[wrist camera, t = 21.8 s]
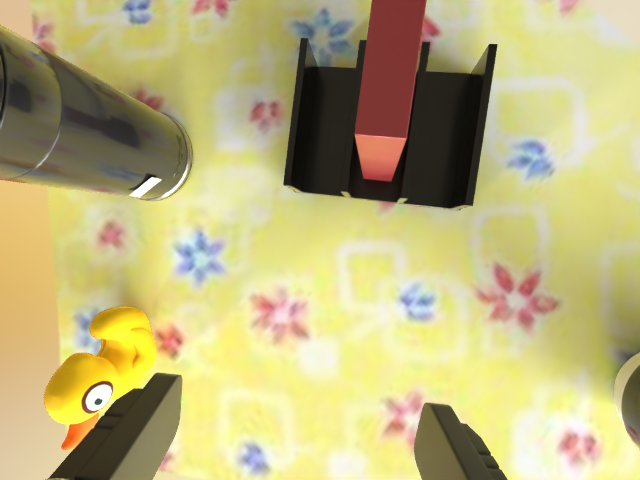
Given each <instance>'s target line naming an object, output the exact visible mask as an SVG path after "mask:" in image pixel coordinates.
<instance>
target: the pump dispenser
mask: <svg viewBox="0 0 640 480" xmlns="http://www.w3.org/2000/svg"><path fill="white" fill-rule="evenodd" d="M614 401H615V406H616V409H617V412H618V414H619V417H620V419H621V421H622V422H623V424H624V426H625V428H626V430H627V433H628V435H629V436H630V438H631V440H632V441H633V443H634V444H635V445H636V447H637V448H638V449H639V450H640V353H638V354H636V355H634V356H633V357H632V358H630V359H629V360H628V361H627V362H626V363H625V364H624V365H623V366H622V368H621V369H620V371H619V372H618V374H617V377H616V380H615V384H614Z"/></svg>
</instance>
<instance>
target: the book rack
mask: <svg viewBox="0 0 640 480" xmlns="http://www.w3.org/2000/svg"><path fill="white" fill-rule="evenodd" d="M366 43H367V40H360V42H359V50H358V57H357V65H356V68H340V67H318V66H317V63H316V60H315V58H314V55H313V52H312V49H311V46H310V43H309V40H308V38H301V42H300V51H299V59H298V67H297V76H296V84H295V92H294V101H293V109H292V117H291V125H290V134H289V142H288V150H287V159H286V167H285V175H284V183H283V185H284V186H286V187H288V188H290V189H292V190H293V191H294V192H297V193H306V194H315V195H324V196H333V197H341V198H350V199H359V200H368V201H376V202H385V203H394V204H403V205H412V206H420V207H429V208H438V209H447V210H456V211H458V210H461V209H462V208H466V207H470V206H473V201H474V194H475V188H476V181H477V175H478V168H479V162H480V155H481V149H482V142H483V136H484V129H485V122H486V116H487V109H488V103H489V96H490V90H491V83H492V77H493V70H494V64H495V57H496V51H497V44H489V45H488V47H487V48H486V50H485V52H484V53H483V55H482V56H481V58H480V60H479V61H478V63H477V65H476V66H475V68H474V69H473V71H472V73H471V74H469V73H448V72H426V69H427V62H428V55H429V48H430V42H422V45H421V49H420V53H419V57H418V64H417V71H416V78H415V85H414V92H413V99H412V106H411V113H410V120H409V127H408V134H407V139H406V142H405V145H404V147H403V150H402V153H401V156H400V159H399V161H398V164H397V167H396V170H395V172H394V175H393V178H392V181H381V180H372V179H364V178H363V174H362V169H361V164H360V159H359V154H358V149H357V144H356V139H355V135H354V133H355V125H356V118H357V110H358V103H359V95H360V88H361V80H362V73H363V65H364V58H365V50H366Z"/></svg>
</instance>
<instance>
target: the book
mask: <svg viewBox="0 0 640 480" xmlns="http://www.w3.org/2000/svg"><path fill="white" fill-rule="evenodd" d="M425 7H426V0H372V5H371V13H370V20H369V28H368V35H367V43H366V50H365V58H364V65H363V73H362V80H361V88H360V95H359V103H358V110H357V118H356V125H355V133H354V135H355V139H356V144H357V149H358V154H359V159H360V164H361V169H362V174H363V178H364V179H372V180H381V181H392V178H393V175H394V172H395V170H396V167H397V164H398V161H399V159H400V156H401V153H402V150H403V147H404V145H405V142H406V139H407V134H408V127H409V120H410V113H411V106H412V99H413V92H414V85H415V78H416V71H417V64H418V57H419V49H420V42H421V35H422V28H423V21H424V14H425Z"/></svg>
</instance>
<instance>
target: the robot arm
mask: <svg viewBox="0 0 640 480" xmlns="http://www.w3.org/2000/svg"><path fill="white" fill-rule="evenodd" d="M191 166H192V147H191V143H190V139H189V137H188V135H187V133H186V131H185V130H184V128H183V127H182V126H181V125H180V124H179V123H178V122H177V121H176V120H175V119H173V118H171V117H170V116H168V115H166V114H164V113H161V112H158V111H157V110H155V109H153V108H151V107H149V106H148V105H146V104H144V103H142V102H141V101H139V100H137V99H135V98H133V97H131V96H130V95H128V94H126V93H124V92H122V91H120V90H119V89H117V88H115V87H113V86H111V85H110V84H108V83H106V82H104V81H102V80H100V79H99V78H97V77H95V76H93V75H91V74H89V73H88V72H86V71H84V70H82V69H80V68H79V67H77V66H75V65H73V64H71V63H69V62H68V61H66V60H64V59H62V58H60V57H58V56H57V55H55V54H53V53H51V52H49V51H48V50H46V49H44V48H42V47H40V46H38V45H37V44H35V43H33V42H31V41H29V40H27V39H25V38H23V37H21V36H20V35H18V34H16V33H14V32H12V31H11V30H9V29H7V28H5V27H3V26H1V25H0V180H6V181H13V182H21V183H28V184H36V185H43V186H51V187H58V188H66V189H73V190H81V191H88V192H96V193H103V194H111V195H118V196H125V197H133V198H137V199H141V200H148V201H157V200H162V199H165V198H168V197H170V196H171V195H173V194H174V193H176V192H177V191H178V190H179V189H180V188H181V187H182V186H183V184H184V183H185V181H186V179H187V178H188V175H189V173H190V170H191ZM181 393H182V376H181V375H175V374H166V373H156V374H154V376H153V377H152V378H151V379H150V381H149V382H148V383H147V384H146V386H145V387H144V388H143V389H139V388H133V389H132V390H130V391H129V392H127V393H126V394H124V395H122V396H121V397H119V398H118V399H117V400H116V401H115V402H114V403H113V404H112V405H111V407H110V408H109V409H108V410H107V411H106V412H105V415H104V416H102V417H101V418H100V419H99V420H98V422H97V423H96V424H95V426H94V428H92V429H91V430H90V431H89V432H88V433H87V434H86V436H85V437H84V438H83V439H82V440H81V441H80V443H79V444H78V445H77V446H76V447H75V448H74V449H73V451H72V452H71V453H70V454H69V455H68V456H67V458H66V459H65V460H64V461H63V462H62V463H61V465H60V466H59V467H58V468H57V469H56V471H55V472H54V473H53V474H52V475H51V476H50V477H49V478H48V479H47V480H152V479H153V477H154V476H155V474H156V472H157V470H158V468H159V466H160V464H161V462H162V460H163V458H164V456H165V454H166V452H167V451H168V449H169V447H170V445H171V443H172V441H173V439H174V437H175V434H176V432H177V428H178V425H179V420H180V410H181ZM414 453H415V460H416V464H417V467H418V469H419V472H420V475H421V478H422V480H507V478H506V477H505V475H504V473H503V472H502V470H500V469H499V466H498V464H497V462H496V461H495V459H494V458H493V456H491V453H490V451H489V450H488V448H487V447H486V445H485V443H484V442H483V440H482V439H481V437H480V436H478V435H477V434H476V433H475V432H474V431H473V430H472V429H471V428H470V427H469V426H468V425H467V424H462V423H460V421H459V419H458V418H457V416H456V414H455V413H454V411H453V409H452V408H451V407H450V406H449V405H444V404H435V403H425V404H424V406H423V409H422V413H421V417H420V421H419V425H418V430H417V434H416V438H415V444H414Z"/></svg>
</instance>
